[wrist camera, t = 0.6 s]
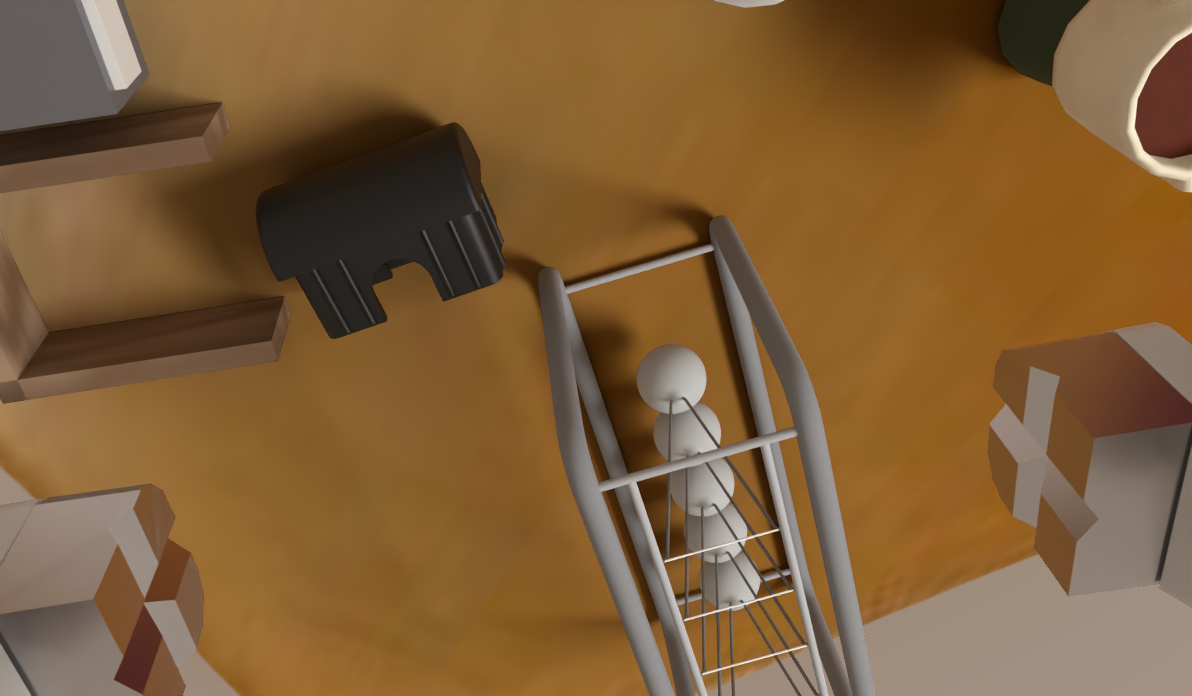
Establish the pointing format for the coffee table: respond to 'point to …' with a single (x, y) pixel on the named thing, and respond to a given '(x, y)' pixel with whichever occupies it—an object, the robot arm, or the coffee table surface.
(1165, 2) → the character mug
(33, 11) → the block
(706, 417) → the newton's cradle
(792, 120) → the coffee table surface
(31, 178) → the walnut organizer
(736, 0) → the can
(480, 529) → the coffee table surface
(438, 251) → the end cap
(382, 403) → the coffee table surface
